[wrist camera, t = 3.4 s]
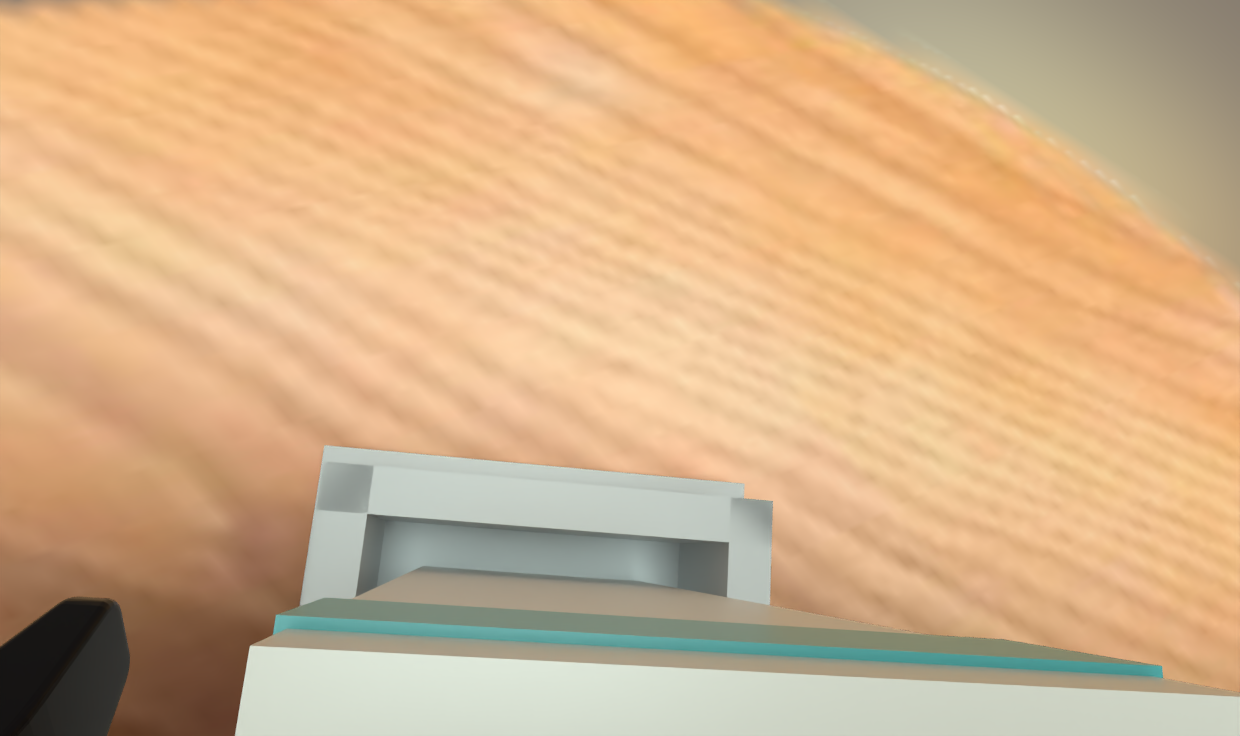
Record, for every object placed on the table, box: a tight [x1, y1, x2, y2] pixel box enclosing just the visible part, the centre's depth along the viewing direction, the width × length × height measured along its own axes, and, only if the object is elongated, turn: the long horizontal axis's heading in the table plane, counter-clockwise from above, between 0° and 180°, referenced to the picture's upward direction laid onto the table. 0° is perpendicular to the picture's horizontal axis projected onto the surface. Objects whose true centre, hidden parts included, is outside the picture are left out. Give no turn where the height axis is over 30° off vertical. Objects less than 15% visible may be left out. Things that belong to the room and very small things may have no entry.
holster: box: [300, 445, 773, 606], centre depth 14 cm, size 8×8×4 cm
